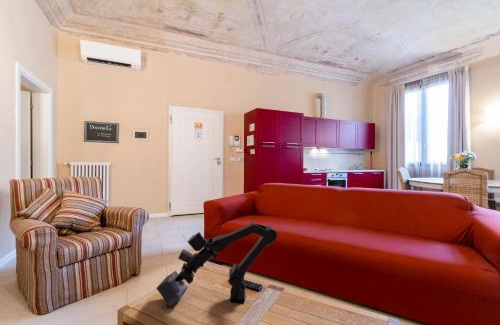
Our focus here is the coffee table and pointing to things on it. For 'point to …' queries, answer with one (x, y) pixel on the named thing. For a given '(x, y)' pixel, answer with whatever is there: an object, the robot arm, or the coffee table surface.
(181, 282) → the small box
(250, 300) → the coffee table surface
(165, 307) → the stop rail
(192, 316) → the coffee table surface
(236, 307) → the coffee table surface
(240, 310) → the coffee table surface
